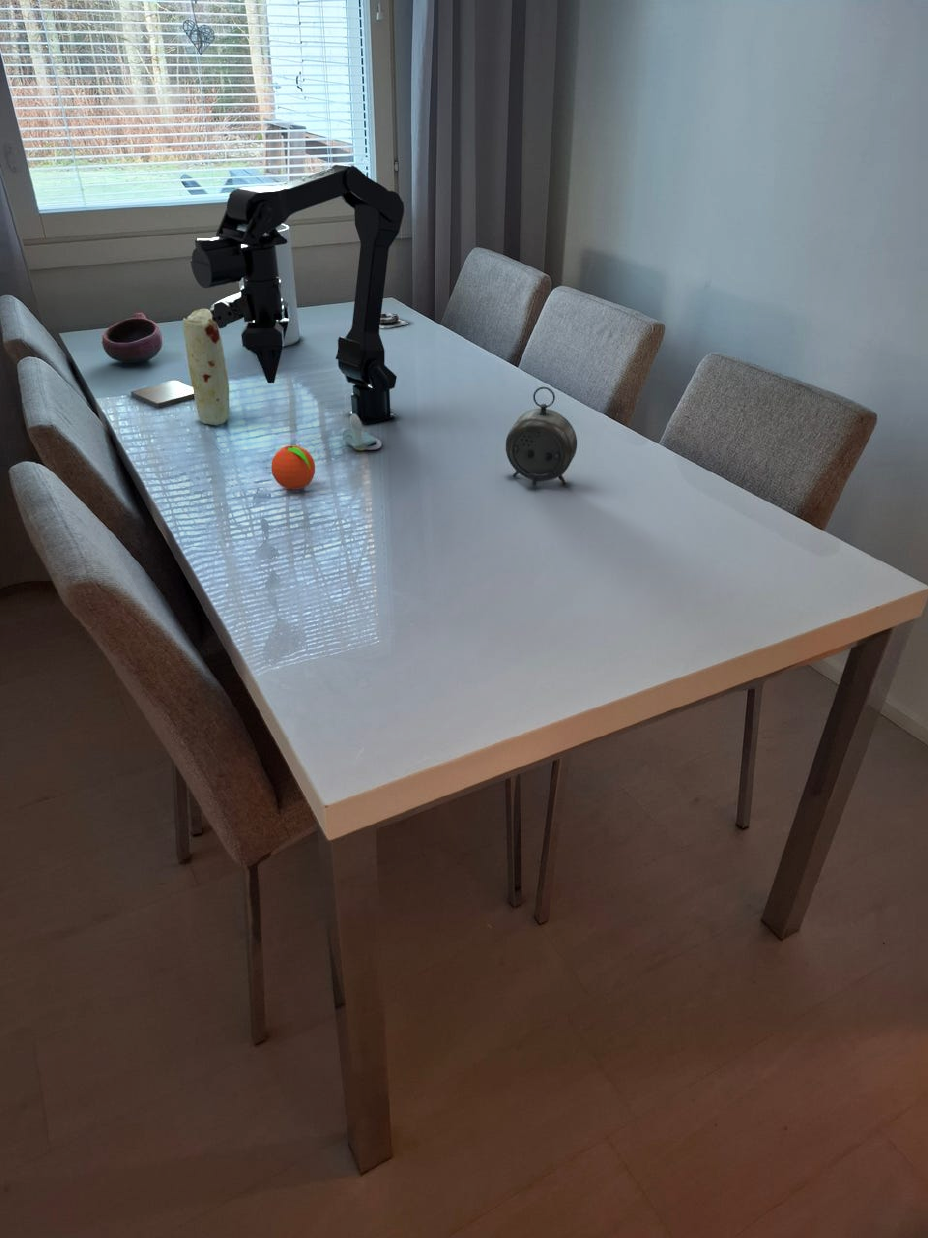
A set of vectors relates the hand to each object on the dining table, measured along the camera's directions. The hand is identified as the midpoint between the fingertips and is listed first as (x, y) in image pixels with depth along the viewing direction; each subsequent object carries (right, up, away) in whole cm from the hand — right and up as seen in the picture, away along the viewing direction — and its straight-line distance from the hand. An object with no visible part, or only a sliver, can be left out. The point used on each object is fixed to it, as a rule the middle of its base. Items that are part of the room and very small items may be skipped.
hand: (273, 373), depth 146 cm
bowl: (-42, +17, +49) cm, 66 cm away
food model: (-15, -4, +18) cm, 23 cm away
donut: (+13, +34, +75) cm, 83 cm away
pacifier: (+14, -11, +8) cm, 20 cm away
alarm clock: (+44, -20, -5) cm, 49 cm away
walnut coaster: (-28, +4, +28) cm, 40 cm away
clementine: (+5, -21, -7) cm, 22 cm away
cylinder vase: (-13, +25, +61) cm, 67 cm away
